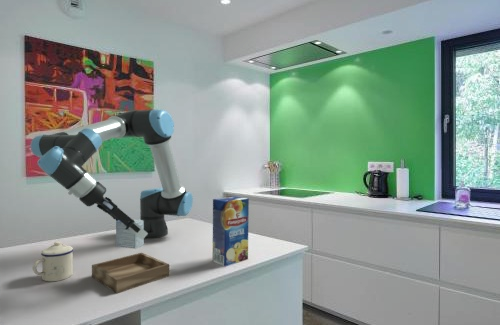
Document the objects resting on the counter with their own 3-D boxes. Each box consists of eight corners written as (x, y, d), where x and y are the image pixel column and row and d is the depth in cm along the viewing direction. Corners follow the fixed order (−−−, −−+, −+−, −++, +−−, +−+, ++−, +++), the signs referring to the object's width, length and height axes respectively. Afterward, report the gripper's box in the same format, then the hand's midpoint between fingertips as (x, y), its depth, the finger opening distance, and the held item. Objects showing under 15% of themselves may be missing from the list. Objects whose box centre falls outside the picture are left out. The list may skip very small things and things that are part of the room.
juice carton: (224, 266, 116) (225, 201, 115) (212, 261, 121) (212, 199, 120) (248, 259, 124) (248, 198, 123) (235, 254, 130) (236, 196, 129)
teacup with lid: (63, 269, 111) (63, 236, 111) (79, 275, 107) (79, 240, 106) (25, 281, 101) (25, 245, 100) (41, 287, 96) (40, 250, 96)
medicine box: (144, 245, 106) (144, 220, 106) (135, 249, 102) (135, 222, 101) (125, 243, 108) (125, 218, 108) (115, 246, 104) (115, 220, 104)
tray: (91, 276, 105) (91, 264, 105) (141, 263, 118) (141, 252, 118) (116, 293, 93) (116, 279, 93) (169, 276, 106) (169, 264, 106)
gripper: (71, 194, 104) (122, 235, 114) (85, 203, 87) (143, 250, 97) (89, 178, 107) (137, 219, 117) (106, 183, 90) (159, 231, 100)
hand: (139, 233), depth 107 cm, fingers closed on medicine box, 9 cm apart
